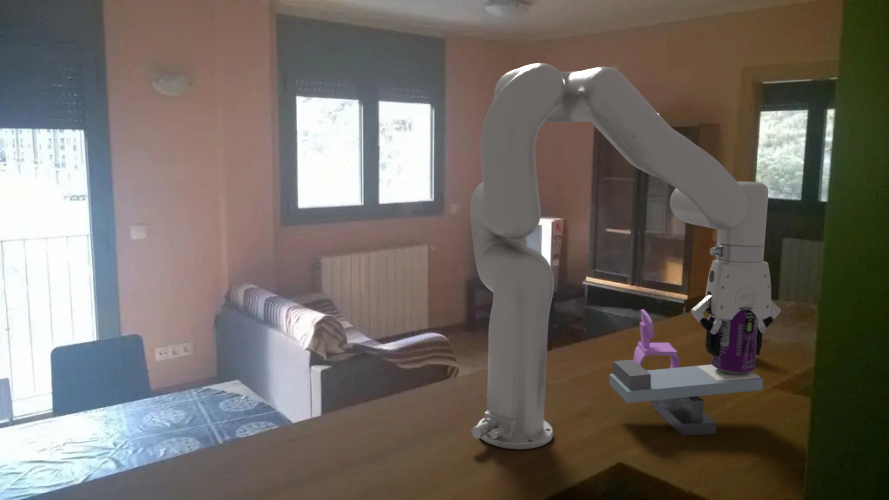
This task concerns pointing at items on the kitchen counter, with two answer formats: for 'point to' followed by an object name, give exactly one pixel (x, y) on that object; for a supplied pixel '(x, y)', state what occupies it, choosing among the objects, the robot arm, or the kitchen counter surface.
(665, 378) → the plank
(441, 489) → the kitchen counter surface
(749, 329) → the beverage can
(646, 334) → the toy chair
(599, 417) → the kitchen counter surface
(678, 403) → the seesaw stand
